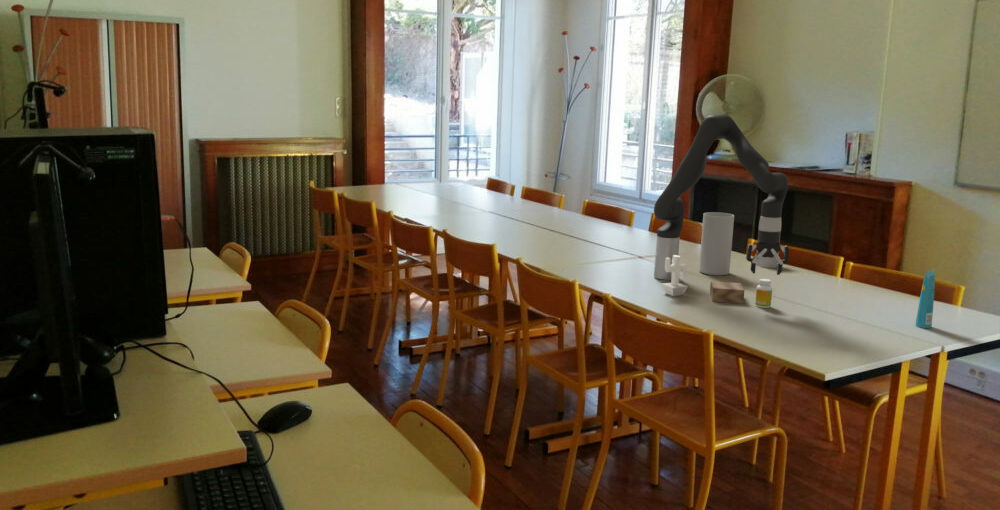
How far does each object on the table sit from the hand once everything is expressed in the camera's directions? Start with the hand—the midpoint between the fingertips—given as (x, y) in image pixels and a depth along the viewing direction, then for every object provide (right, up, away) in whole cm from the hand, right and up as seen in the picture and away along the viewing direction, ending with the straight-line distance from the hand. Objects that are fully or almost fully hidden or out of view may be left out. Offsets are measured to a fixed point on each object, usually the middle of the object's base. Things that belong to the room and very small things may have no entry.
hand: (765, 273), depth 297 cm
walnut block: (-11, -10, +12) cm, 19 cm away
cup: (+24, +2, +73) cm, 77 cm away
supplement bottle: (0, -12, +3) cm, 12 cm away
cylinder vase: (-4, -1, +56) cm, 56 cm away
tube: (+47, -18, -18) cm, 53 cm away
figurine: (-29, -8, +17) cm, 35 cm away
